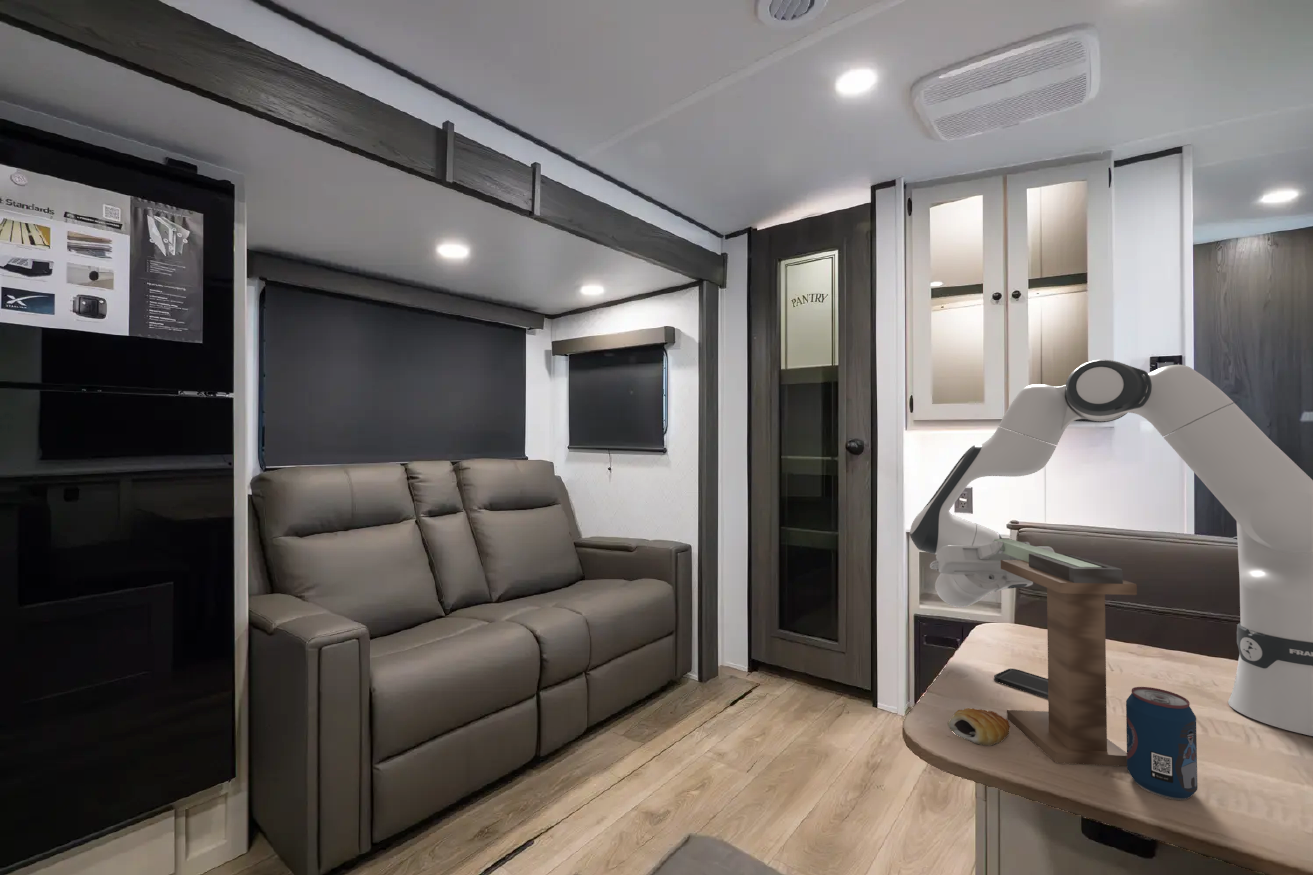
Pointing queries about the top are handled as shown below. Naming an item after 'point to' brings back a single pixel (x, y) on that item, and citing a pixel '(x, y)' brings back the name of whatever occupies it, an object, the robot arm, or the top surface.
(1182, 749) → the soda can
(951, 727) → the pastry
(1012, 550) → the slat
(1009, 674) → the phone
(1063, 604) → the stand
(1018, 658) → the top surface
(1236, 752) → the top surface
